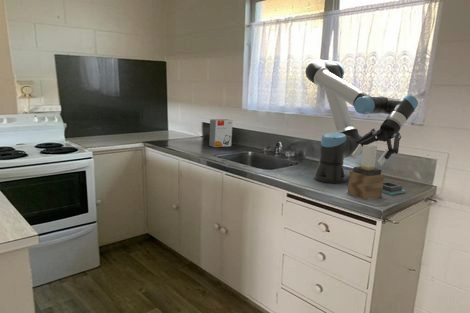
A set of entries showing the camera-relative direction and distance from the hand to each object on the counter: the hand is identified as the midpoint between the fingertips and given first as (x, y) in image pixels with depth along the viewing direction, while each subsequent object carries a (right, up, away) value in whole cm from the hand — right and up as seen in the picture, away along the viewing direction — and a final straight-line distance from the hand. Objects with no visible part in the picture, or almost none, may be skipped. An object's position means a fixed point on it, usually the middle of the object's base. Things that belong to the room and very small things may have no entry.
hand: (365, 160), depth 146 cm
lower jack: (+15, -14, +12) cm, 24 cm away
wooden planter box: (+1, -15, +4) cm, 16 cm away
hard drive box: (-67, +9, +111) cm, 130 cm away
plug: (+1, -6, +2) cm, 6 cm away
